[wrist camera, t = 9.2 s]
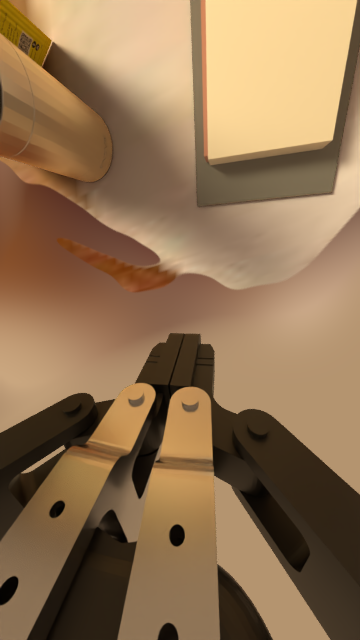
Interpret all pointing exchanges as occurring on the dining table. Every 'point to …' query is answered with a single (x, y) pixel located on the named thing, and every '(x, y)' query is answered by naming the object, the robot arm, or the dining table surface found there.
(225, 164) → the mat
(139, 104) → the dining table surface
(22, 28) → the food package
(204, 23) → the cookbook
